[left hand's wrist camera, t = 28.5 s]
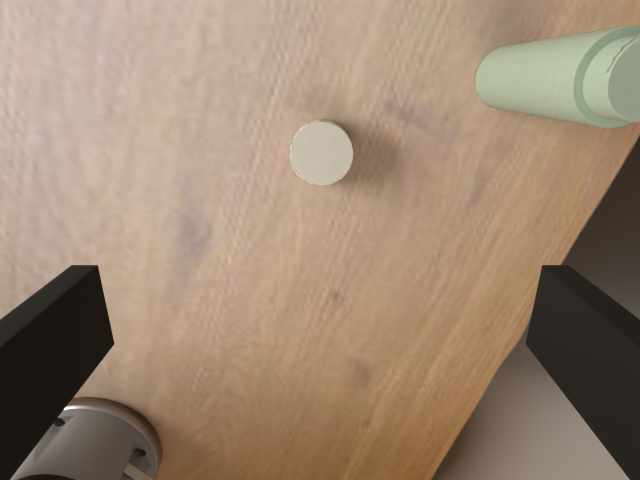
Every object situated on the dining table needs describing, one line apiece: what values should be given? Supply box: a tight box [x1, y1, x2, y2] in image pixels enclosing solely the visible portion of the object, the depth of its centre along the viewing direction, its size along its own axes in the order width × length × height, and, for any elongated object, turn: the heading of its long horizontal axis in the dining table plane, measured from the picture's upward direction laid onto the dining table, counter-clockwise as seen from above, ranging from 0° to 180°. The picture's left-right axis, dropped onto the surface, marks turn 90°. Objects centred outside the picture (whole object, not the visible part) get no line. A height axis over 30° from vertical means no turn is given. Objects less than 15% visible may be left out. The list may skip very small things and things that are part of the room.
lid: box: [290, 119, 354, 186], centre depth 37 cm, size 6×6×2 cm
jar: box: [475, 26, 640, 128], centre depth 28 cm, size 5×5×17 cm
